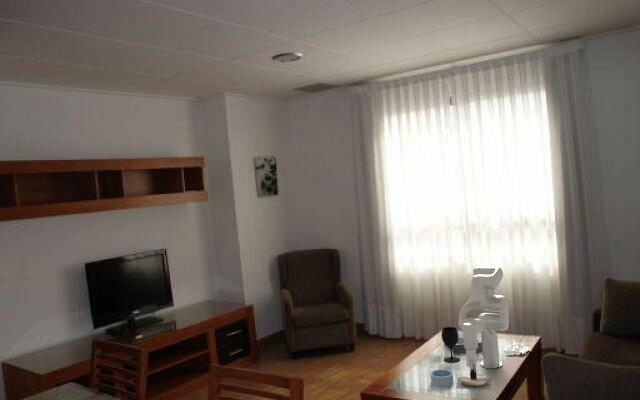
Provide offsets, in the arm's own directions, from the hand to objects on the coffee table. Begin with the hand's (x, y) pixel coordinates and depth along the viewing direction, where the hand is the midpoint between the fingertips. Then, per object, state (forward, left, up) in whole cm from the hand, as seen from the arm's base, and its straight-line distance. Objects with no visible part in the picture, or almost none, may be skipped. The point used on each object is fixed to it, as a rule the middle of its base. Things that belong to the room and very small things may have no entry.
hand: (473, 376), depth 293 cm
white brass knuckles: (-56, +24, -5) cm, 61 cm away
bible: (-63, -10, -5) cm, 64 cm away
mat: (+1, 0, -4) cm, 4 cm away
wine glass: (-37, -15, -4) cm, 41 cm away
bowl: (+2, -17, -4) cm, 18 cm away
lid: (0, 0, -2) cm, 2 cm away
